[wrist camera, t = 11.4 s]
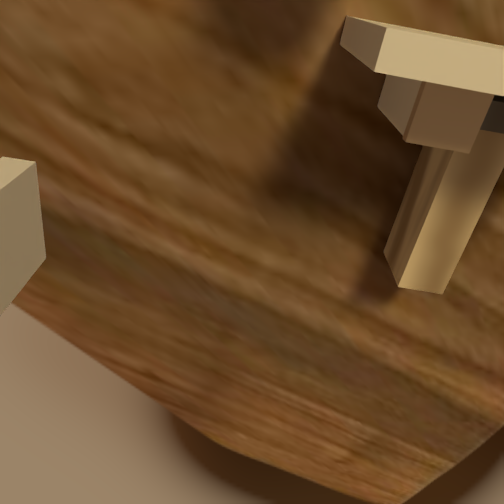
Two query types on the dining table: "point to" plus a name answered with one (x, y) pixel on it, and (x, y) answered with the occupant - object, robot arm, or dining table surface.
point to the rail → (444, 206)
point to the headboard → (429, 80)
